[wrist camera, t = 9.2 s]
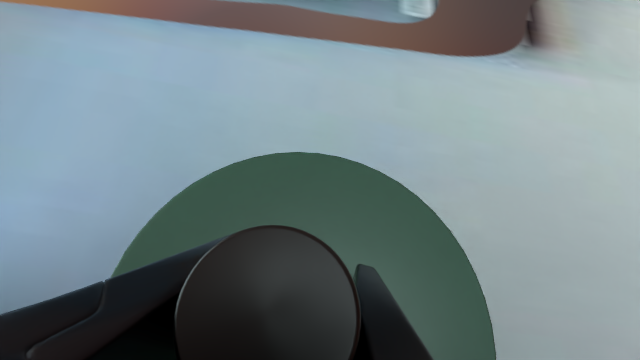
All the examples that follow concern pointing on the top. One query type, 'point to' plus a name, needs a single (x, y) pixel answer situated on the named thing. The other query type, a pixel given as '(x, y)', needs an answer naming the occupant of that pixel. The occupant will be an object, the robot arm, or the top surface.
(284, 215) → the lid
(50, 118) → the top surface
